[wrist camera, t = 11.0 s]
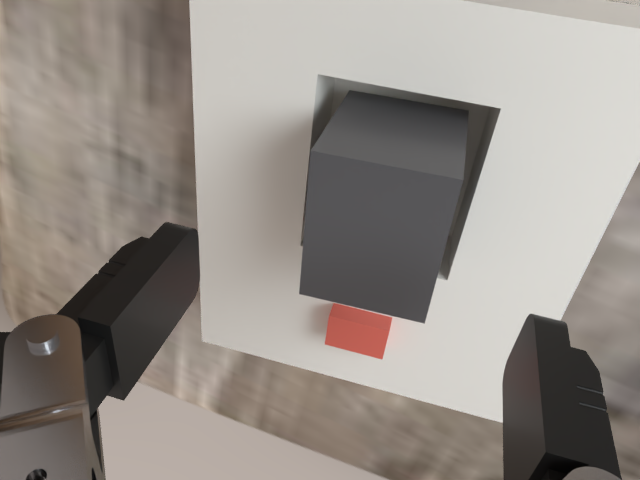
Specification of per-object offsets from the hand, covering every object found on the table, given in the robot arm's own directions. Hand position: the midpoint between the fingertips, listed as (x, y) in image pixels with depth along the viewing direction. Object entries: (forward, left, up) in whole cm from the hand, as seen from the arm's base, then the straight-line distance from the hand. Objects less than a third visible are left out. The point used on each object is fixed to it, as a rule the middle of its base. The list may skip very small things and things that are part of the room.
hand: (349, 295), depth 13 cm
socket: (+2, 0, -10) cm, 10 cm away
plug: (0, 0, -9) cm, 9 cm away
